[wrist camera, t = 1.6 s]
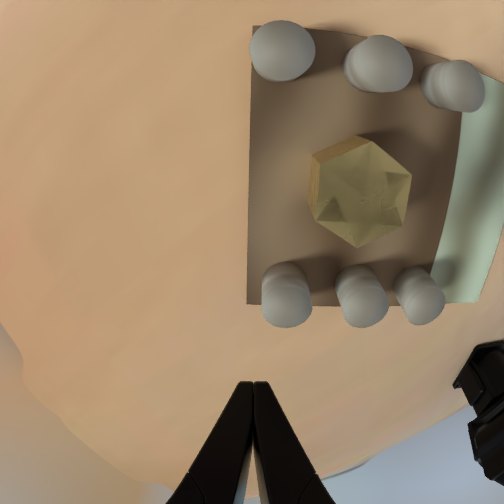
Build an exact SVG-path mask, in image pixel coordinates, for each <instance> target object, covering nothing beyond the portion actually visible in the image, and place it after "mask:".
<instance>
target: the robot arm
mask: <svg viewBox="0 0 504 504" xmlns="http://www.w3.org/2000/svg"><path fill="white" fill-rule="evenodd" d="M253 386H254V395H253ZM453 388H454V389H456V388H462V390H463V392H464V394H465V396H466V398H467V400H468V402H469V404H470V406H473V408H474V410H475V412H476V414H477V418H475V419H474V420H473V421H471V422H469V423H468V429H469V430H468V432H469V435H470V440H471V444H472V449H473V454H474V460H475V461H477V462H478V463H479V464H480V465H481V466H482V467H483V469H484V474H485V476H486V477H487V478H489V479H490V480H494V481H496V482H498V483H500V484H501V485H503V486H504V342H499V343H493V344H488V345H482V346H477V347H476V348H475V349H474V350H473V352H472V354H471V355H470V357H469V359H468V361H467V362H466V364H465V366H464V367H463V369H462V371H461V372H460V374H459V375H458V377H457V379H456V380H455V382H454V383H453ZM252 447H253V449H254V458H255V465H256V473H257V480H258V487H259V495H260V501H261V504H336V503H335V502H334V500H333V499H332V498H331V496H330V495H329V493H328V491H327V490H326V488H325V487H324V485H323V484H322V482H321V480H320V478H319V476H318V474H315V473H316V471H315V469H314V468H313V466H312V464H311V462H310V460H309V458H308V457H307V455H306V453H305V451H304V449H303V447H302V446H301V444H300V442H299V440H298V438H297V436H296V434H295V433H294V431H293V429H292V427H291V425H290V423H289V421H288V419H287V417H286V416H285V414H284V412H283V410H282V408H281V406H280V404H279V402H278V400H277V398H276V396H275V394H274V392H273V390H272V388H271V387H270V385H269V383H268V382H266V381H256V382H254V384H253V382H251V381H240V382H239V383H238V385H237V386H236V388H235V390H234V392H233V394H232V395H231V397H230V399H229V401H228V403H227V404H226V406H225V408H224V410H223V412H222V413H221V415H220V417H219V419H218V420H217V422H216V424H215V426H214V428H213V429H212V431H211V433H210V434H209V436H208V438H207V440H206V441H205V443H204V445H203V447H202V448H201V450H200V452H199V453H198V455H197V457H196V458H195V460H194V462H193V463H192V465H191V467H190V468H189V470H188V472H189V473H188V472H187V473H186V475H185V476H184V478H183V480H182V481H181V483H180V484H179V486H178V487H177V489H176V490H175V492H174V493H173V495H172V496H171V498H170V499H169V500H168V501H167V502H166V504H243V502H244V497H245V491H246V485H247V479H248V473H249V467H250V461H251V455H252Z"/></svg>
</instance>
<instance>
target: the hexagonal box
mask: <svg viewBox="0 0 504 504" xmlns="http://www.w3.org/2000/svg"><path fill="white" fill-rule="evenodd" d="M411 179H412V174H410V173H409V172H408V171H407V170H406V169H405V168H404V167H403V166H401V165H400V164H399V163H398V162H397V161H396V160H394V159H393V158H392V157H391V156H390V155H388V154H387V153H386V152H385V151H384V150H382V149H381V148H380V147H379V146H378V145H376V144H375V143H374V142H373V141H370V140H368V139H365V138H362V137H360V136H357V135H353V136H351V137H349V138H347V139H345V140H342V141H340V142H338V143H336V144H334V145H331V146H329V147H327V148H325V149H323V150H321V151H319V152H316V153H314V154H312V155H311V164H310V177H309V190H308V202H307V203H308V205H309V207H310V210H311V212H312V215H313V217H314V219H315V221H316V222H318V223H319V224H321V225H322V226H324V227H326V228H327V229H329V230H330V231H332V232H333V233H335V234H336V235H338V236H339V237H341V238H342V239H344V240H345V241H347V242H348V243H350V244H351V245H353V246H354V247H356V248H359V247H361V246H363V245H365V244H367V243H369V242H371V241H373V240H375V239H378V238H380V237H382V236H384V235H386V234H388V233H390V232H392V231H394V230H396V229H398V228H400V227H402V226H403V223H404V218H405V213H406V208H407V202H408V197H409V191H410V185H411Z"/></svg>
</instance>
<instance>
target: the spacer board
mask: <svg viewBox="0 0 504 504" xmlns="http://www.w3.org/2000/svg"><path fill="white" fill-rule="evenodd" d="M249 48H250V55H251V59H252V72H251V112H250V155H249V201H248V252H247V304H253V305H262V314H263V316H264V318H265V319H266V321H268V322H269V323H270V324H272V325H274V326H277V327H281V328H290V327H295V326H298V325H300V324H301V323H303V322H304V321H306V320H307V318H308V317H309V316H310V314H311V311H312V306H341V309H342V312H343V315H344V318H345V320H346V322H347V323H348V324H350V325H351V326H353V327H357V328H365V327H369V326H372V325H374V324H376V323H378V322H379V321H380V320H381V319H382V318H383V317H384V316H385V315H386V313H387V311H388V308H389V306H401V307H402V309H403V311H404V312H405V314H406V316H407V318H408V320H409V321H410V322H411V323H412V324H414V325H424V324H427V323H430V322H431V321H433V320H434V319H435V318H437V317H438V316H439V314H440V313H441V312H442V310H443V308H444V306H445V304H446V303H466V302H477V300H478V297H479V295H480V292H481V290H482V287H483V285H484V282H485V280H486V277H487V274H488V272H489V269H490V266H491V263H492V260H493V257H494V254H495V251H496V248H497V245H498V242H499V238H500V235H501V232H502V228H503V224H504V84H503V83H501V82H499V81H497V80H494V79H492V78H490V77H488V76H486V75H483V74H481V73H479V72H478V70H477V69H476V68H475V67H474V66H473V65H472V64H470V63H469V62H467V61H463V60H456V61H449V60H446V59H444V58H441V57H438V56H435V55H432V54H429V53H425V52H422V51H419V50H415V49H412V48H408V47H405V46H403V45H402V44H401V43H400V42H398V41H397V40H395V39H394V38H391V37H389V36H384V35H375V36H371V37H369V38H366V37H361V36H356V35H350V34H344V33H338V32H331V31H324V30H315V29H306V28H303V27H301V26H300V25H298V24H296V23H293V22H290V21H283V20H279V21H272V22H269V23H266V24H264V25H263V26H253V34H252V38H251V41H250V47H249ZM353 135H357V136H360V137H362V138H365V139H368V140H370V141H373V142H374V143H375V144H376V145H378V146H379V147H380V148H381V149H382V150H384V151H385V152H386V153H387V154H388V155H390V156H391V157H392V158H393V159H394V160H396V161H397V162H398V163H399V164H400V165H401V166H403V167H404V168H405V169H406V170H407V171H408V172H409V173H410V174H412V179H411V185H410V191H409V197H408V202H407V208H406V213H405V218H404V223H403V226H402V227H400V228H398V229H396V230H394V231H392V232H390V233H388V234H386V235H384V236H382V237H380V238H378V239H375V240H373V241H371V242H369V243H367V244H365V245H363V246H361V247H359V248H356V247H354V246H353V245H351V244H350V243H348V242H347V241H345V240H344V239H342V238H341V237H339V236H338V235H336V234H335V233H333V232H332V231H330V230H329V229H327V228H326V227H324V226H322V225H321V224H319V223H318V222H316V221H315V219H314V217H313V215H312V212H311V210H310V207H309V205H308V203H307V202H308V190H309V177H310V164H311V155H312V154H314V153H316V152H319V151H321V150H323V149H325V148H327V147H329V146H331V145H334V144H336V143H338V142H340V141H342V140H345V139H347V138H349V137H351V136H353Z"/></svg>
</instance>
